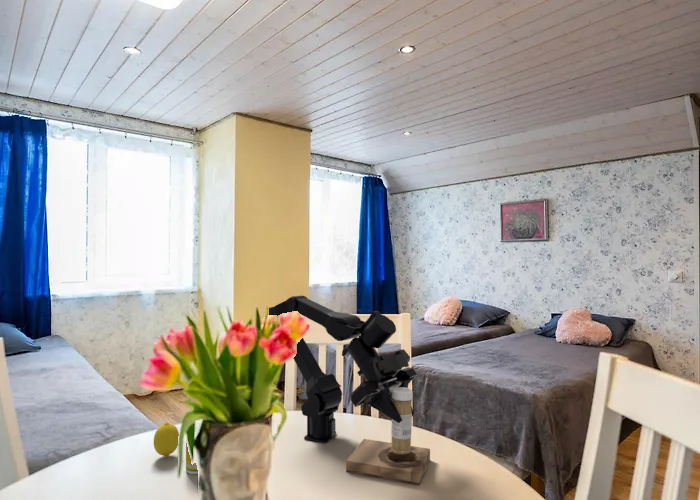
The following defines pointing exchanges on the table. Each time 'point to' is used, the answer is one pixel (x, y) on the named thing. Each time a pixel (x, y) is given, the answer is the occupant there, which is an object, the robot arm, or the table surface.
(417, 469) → the board
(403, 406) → the sprinkles bottle
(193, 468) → the supplement bottle
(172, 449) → the lemon
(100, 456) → the table surface
